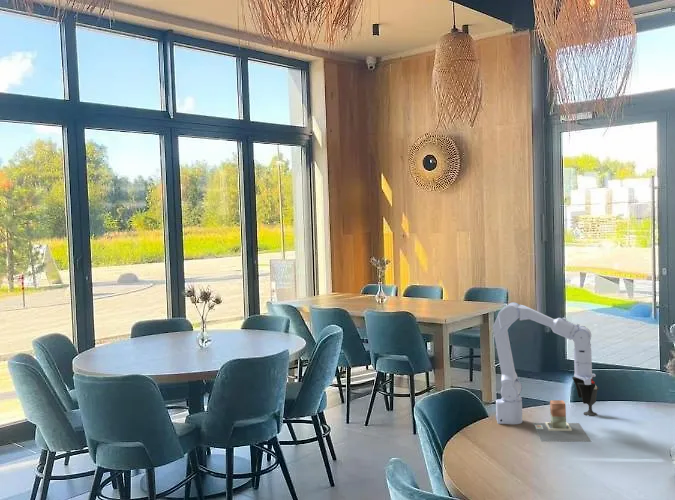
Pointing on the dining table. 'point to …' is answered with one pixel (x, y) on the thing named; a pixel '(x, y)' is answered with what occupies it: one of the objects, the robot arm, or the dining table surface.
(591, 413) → the sundae
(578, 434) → the grey board
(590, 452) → the dining table surface
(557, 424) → the sage block
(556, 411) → the terracotta block
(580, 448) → the dining table surface
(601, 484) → the dining table surface
